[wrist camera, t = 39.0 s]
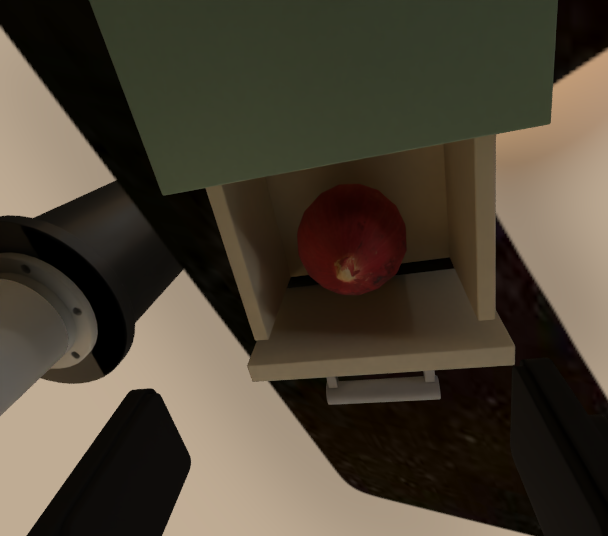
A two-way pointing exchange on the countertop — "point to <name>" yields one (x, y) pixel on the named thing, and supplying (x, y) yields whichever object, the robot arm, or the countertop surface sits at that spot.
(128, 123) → the countertop surface
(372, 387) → the drawer
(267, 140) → the cabinet
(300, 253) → the onion
